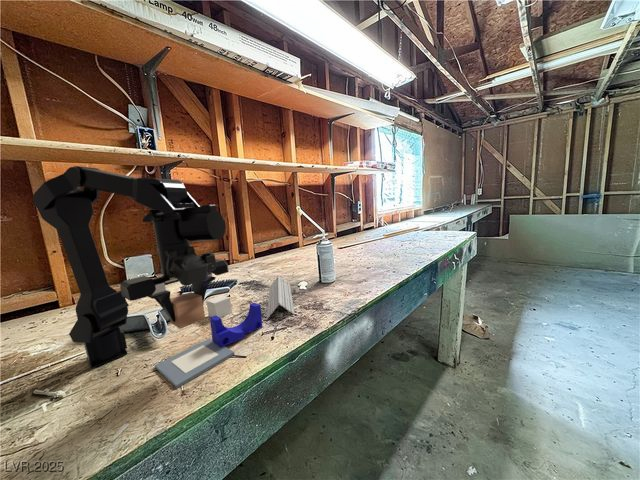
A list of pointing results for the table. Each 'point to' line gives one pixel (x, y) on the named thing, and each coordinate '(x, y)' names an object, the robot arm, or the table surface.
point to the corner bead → (280, 296)
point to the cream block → (219, 306)
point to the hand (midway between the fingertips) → (187, 316)
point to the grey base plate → (193, 362)
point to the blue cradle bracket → (230, 335)
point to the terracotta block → (187, 309)
